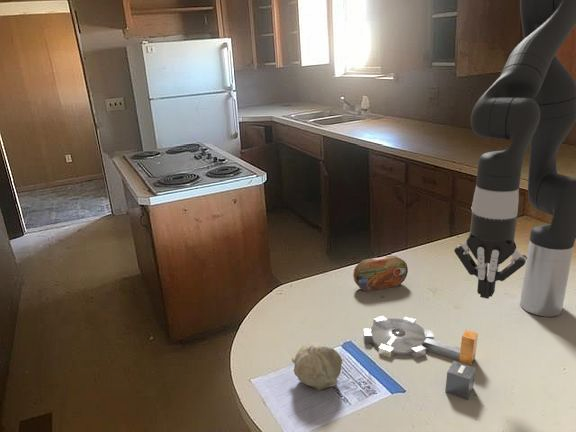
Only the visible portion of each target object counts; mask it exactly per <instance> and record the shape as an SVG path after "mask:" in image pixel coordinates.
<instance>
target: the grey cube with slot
mask: <svg viewBox="0 0 576 432" xmlns="http://www.w3.org/2000/svg"><path fill="white" fill-rule="evenodd" d="M475 374H476V366H473V365H472V366H470V365H467V364H464V363H461V362H459V361H457V360H453V361H452V362H451V365H450V366H449V368H448V370H447V372H446V379H445V381H446V382H445V388H444V389H445V391H444V392H445V393H446V394H449V395H452V396H453V397H454V396H455V397H458V398H461V399H464V400H466V401H468V399H469V397H470V396H471V393H472V391H473V389H474V383H475V377H476V375H475Z"/></svg>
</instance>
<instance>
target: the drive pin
mask: <svg viewBox="0 0 576 432" xmlns="http://www.w3.org/2000/svg"><path fill="white" fill-rule="evenodd" d="M478 335H479V333H478V332H475V331H471V330H467V329H465V331H464V332H463V334H462V336H461V343H460V347H458V346H457V345H456V346H455V345H452V344H449V343H446V342H441V341H439V340H435V339H434V340H432V339H429V338H426V340H425V341H424V347H425V348H426V352H430V353H433V354H434V353H435V354H437V355H441V356H444V357H447V358H450V359H453V360H455V361H458V362H459V363H462V364H466V365H469V366H472V367H473V363H475V359H476V353H477V345H478V339H479V338H478Z"/></svg>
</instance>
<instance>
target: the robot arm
mask: <svg viewBox="0 0 576 432" xmlns="http://www.w3.org/2000/svg"><path fill="white" fill-rule="evenodd" d="M519 12H520V20H521V28H522V34H523V35H522V36H523V39H522V41H520V43H518V44H517V45H516V46H515V47H514V49H513V50H512V51H511V52H510V55H509V56H508V58H507V59H506V60H507V61H505V65H504V66H503V69H502V71H501V74H500V75H499V77H498V78H497V79H496V80H495V81H494V82H492V84H491V85H490V86H489V88H488V89H487V90H486V91H485V92H484V93H483V94H482V95H481V96H480V97H479V99H478V100H477V102H476V103H475V104H474V107H473V108H472V110H471V111H472V112H471V115H470V126H471V127H470V128H471V130H472V131H473V133H474V134H475V135H476V136H478V137H480V138H484V139H494V140H504V141H506V140H507V141H510V144H509V146H508V148H507V149H503V150H495V151H489V152H484V153H483V154H481V155H480V157H479V158H478V164H477V172H476V173H477V174H476V182H475V183H476V185H475V188H474V192H473V193H474V194H473V199H472V203H471V218H470V220H471V222H470V229H469V230H470V231H469V236H468V237H467V239H466V242H463V243H459V244H458V245H456V246H455V248H454V254H455V255H456V256H457V258H458V259H459V261H460V263H461V264H462V265H463V267H464V268H465V270H466V271H467V273H468V274H469V275H471V276H475V277H476V278H477V279H478V281H477V290H476V291H477V294H478V295H480V296H479V297H480V298H483V299H486V300H487V299H488V300H489V299H490V297H491V298H492V297H493V295H494V293H495V292H496V291H495V290H496V282H497V281H499V282H504V281H505V280H506V279H508V278H510V277H511V276H512V275H513V274H515V273H516V272H517V271H518V270H520V269H521V268H522V267H523V266H525V269H524V274H523V275H524V276H523V281H522V287H521V293H520V301H519V305H520V306H521V308H522V309H524V311H526V312H528V313H530V314H533V315H536V316H540V317H546V318H547V317H557V316H559V315H561V314H562V312H563V308H564V302H565V297H566V292H567V286H568V280H569V275H570V269H571V266H572V265H571V263H572V257H573V252H574V248H575V247H574V246H575V242H576V177H574V176H573V177H572V176H569V175H565V174H562V173H558V171H557V156H558V151H559V149H560V146H561V145H562V144H563V142H564V141H565V139H566V138H567V136H568V135H569V133H570V132H571V130H572V128H574V125H575V124H576V81H575V79H574V77H573V76H572V75H571V73H570V71H569V70H568V69H567V68H566V66H565V65H564V64H563V63H562V62H561V60H560V59H559V58H558V57H557V55H556V54H557V53H558V51H559V50H560V48H561V47H562V46H563V44H564V43H565V41H566V40H567V38H568V37H569V36H570V34H571V32H572V31H573V29H574V28H575V26H576V0H519ZM528 149H529V164H528V165H529V166H528V179H527V197H528V202H529V204H530V205H531V207H532V208H533V209H535V210H537V211H540V212H542V213H546V214H549V215H551V216H552V219H551V222H550V223H549V224H539V225H536V226H534V227H532V228H531V230H530V233H529V241H528V246H527V247H528V248H527V255H525V254H521V253H520V252H519V251H518V250H517V244H516V243H515V235H516V227H517V219H518V212H519V202H520V194H519V193H520V191H519V190H520V183H521V176H522V174H521V173H522V168H523V165H524V163H523V162H524V160H525V156H526V154H527V150H528ZM470 252H471V254H472V255H473V257H474V258H475V260H476V261H475V260H474V259H473V257H472V256H471V254H470ZM511 256H512V257H511ZM510 257H511V259H510V264H508V265H507V266H506V267H505V268H503V269H502V270H501V271H500V270H499V267H500V265H502V264H503V263H504V262H505V261H507V259H509V258H510ZM476 262H477V263H476ZM488 266H489V267H488Z"/></svg>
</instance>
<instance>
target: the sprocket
mask: <svg viewBox="0 0 576 432" xmlns="http://www.w3.org/2000/svg"><path fill="white" fill-rule="evenodd" d="M426 338H429V339H432V340H435V336H434V333H433V330H431V329H424V327H422V326H421V325H419V324H417V319H416V318H413V317H408V316H404V317H403V318H386V317H385V316H384V315H381V316H378V317H376V318H375V317H374V318H373V321H372V326H371V327H370V328H363V342H364V344H371V345H372V347H376V348H377V349H378V355H381V356H384V357H388V359H389V358H392V357H393V355H396V356H397V355H398V356H410V355H411V356H412V357H413V358H414V359H418V358H421V357H423V356H426V354H427V350H426V348H425V347H424V341H425V340H426Z"/></svg>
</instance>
